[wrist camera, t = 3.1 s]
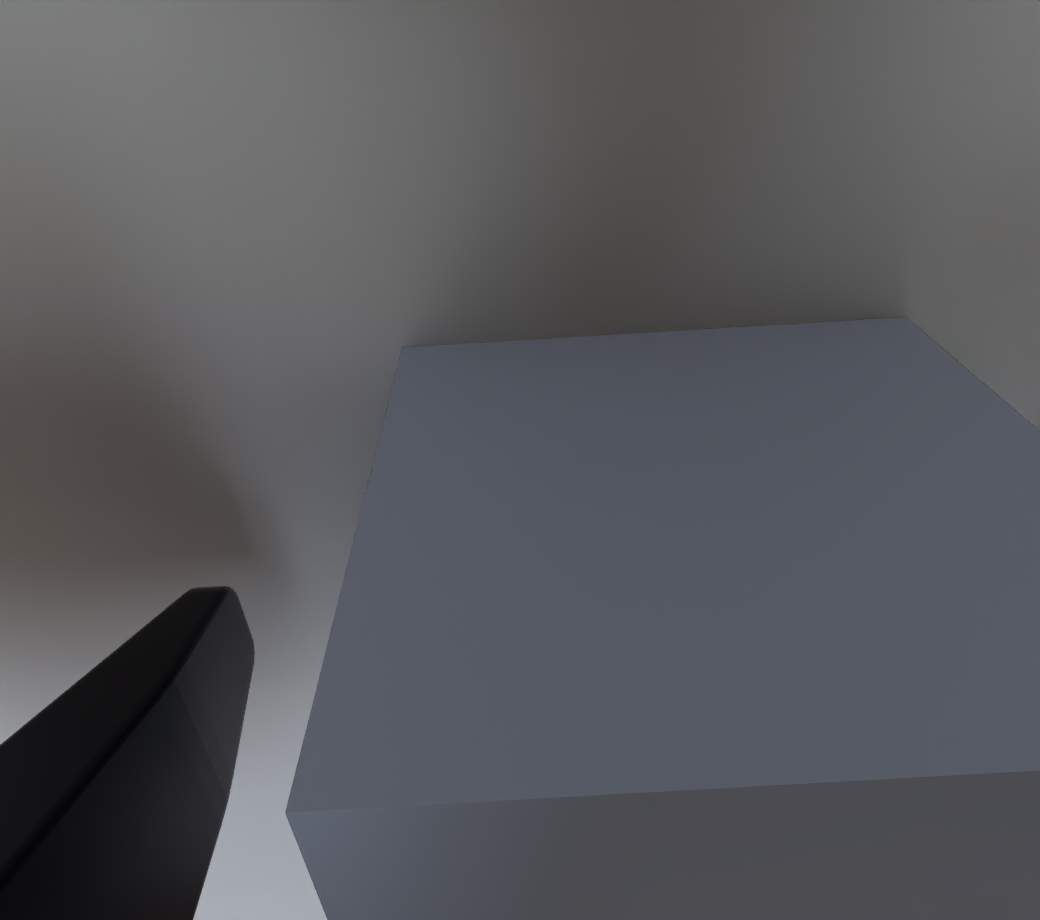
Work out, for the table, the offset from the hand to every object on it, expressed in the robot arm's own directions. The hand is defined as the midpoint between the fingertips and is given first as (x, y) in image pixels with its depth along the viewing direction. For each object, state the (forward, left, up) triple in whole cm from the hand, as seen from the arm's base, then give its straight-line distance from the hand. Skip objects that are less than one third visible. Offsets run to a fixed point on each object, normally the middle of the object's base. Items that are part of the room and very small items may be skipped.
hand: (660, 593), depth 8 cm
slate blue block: (0, 0, -1) cm, 1 cm away
